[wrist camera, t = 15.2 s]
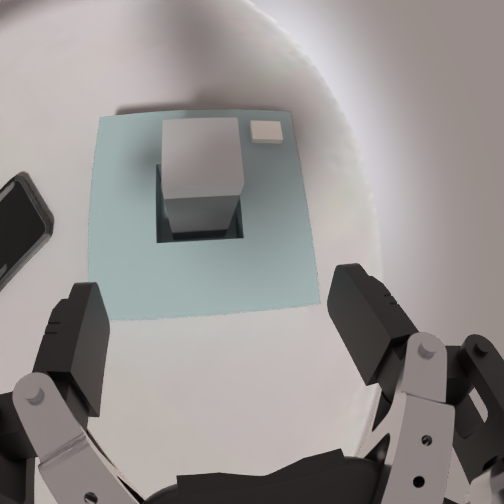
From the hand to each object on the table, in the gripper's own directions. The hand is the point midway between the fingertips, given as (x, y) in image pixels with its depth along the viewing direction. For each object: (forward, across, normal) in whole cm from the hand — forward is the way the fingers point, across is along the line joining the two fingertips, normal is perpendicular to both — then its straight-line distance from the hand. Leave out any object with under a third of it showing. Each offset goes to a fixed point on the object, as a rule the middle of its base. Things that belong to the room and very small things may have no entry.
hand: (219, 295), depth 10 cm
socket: (+15, 0, +5) cm, 16 cm away
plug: (+15, 0, +4) cm, 16 cm away
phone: (+14, +21, +6) cm, 26 cm away
